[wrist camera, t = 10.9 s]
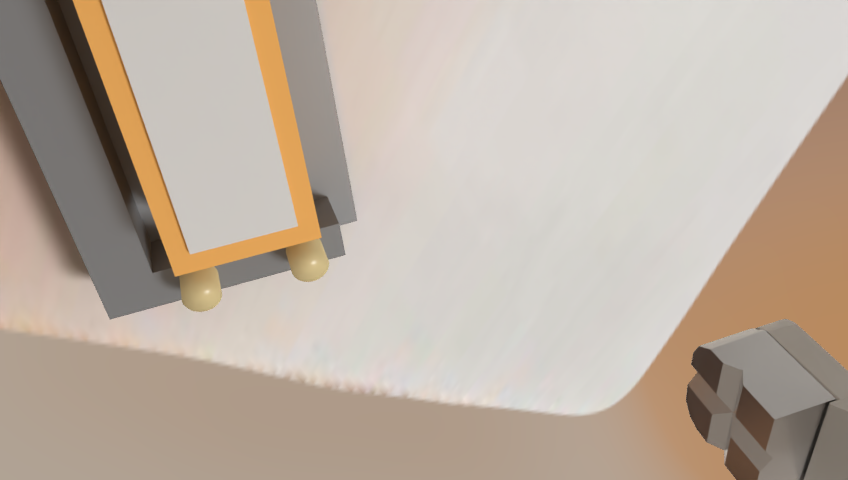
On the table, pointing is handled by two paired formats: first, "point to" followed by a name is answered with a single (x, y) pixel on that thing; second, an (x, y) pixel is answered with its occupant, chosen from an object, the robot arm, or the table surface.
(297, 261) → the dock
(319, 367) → the table surface
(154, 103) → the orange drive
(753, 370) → the robot arm
